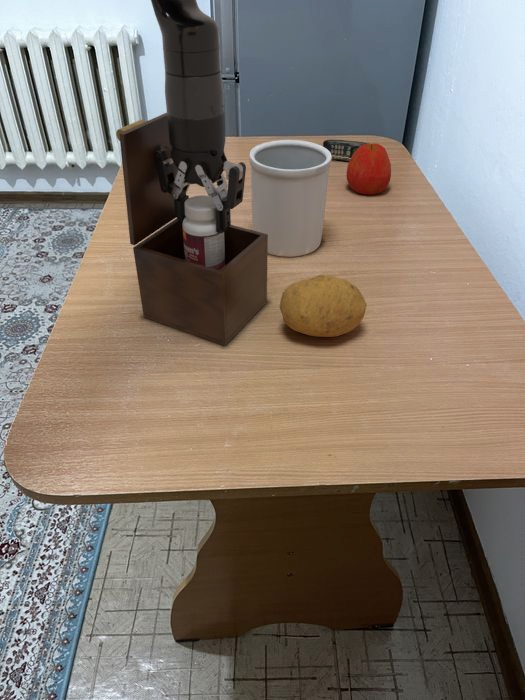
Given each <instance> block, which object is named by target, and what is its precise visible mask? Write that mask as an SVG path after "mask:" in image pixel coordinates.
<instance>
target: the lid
mask: <svg viewBox="0 0 525 700" xmlns="http://www.w3.org/2000/svg"><path fill="white" fill-rule="evenodd" d="M115 135H116V138H117V140H118V141H119V143H120V154H121V164H122V175H123V184H124V185H123V186H124V195H125V202H126V215H127V224H128V225H127V226H128V233H129V235H128V236H129V244H130V245H132V246H136V245H138V244H139V243H141V242H142V241H144V240H145V239H147V238H148V237H150V236H151V235H153V234H154V233H155V232H157V231H158V230H160V229H161V228H163V227H164V226H166V225H167V224H169V223H170V222H172V221H173V220H175V219H176V218H177V217H176V215H175V205H174V199H173V198H172V196H171V194H169V193H168V192H166V193H164V192H162V190H161V187H160V183H159V178H158V173H157V168H156V163H155V159H154V152H156V151H158V150H159V149H161V148H164V147H166V146H167V147H169V148H170V149H172V146H171V144H170V141H169V130H168V120H167V112H164V113H162V114H160V115H158V116H156V117H153V118H151V119H149V120H144V119H139V120H137V121H135V122H132V123H130V124H127V125H125V126H123V127H120V128H118V129H117V130H116V132H115ZM173 165H174V171H175V176H176V175H177V172H178V168H177V167H176V165H175V163H174V162H173ZM167 180H168V178H167Z"/></svg>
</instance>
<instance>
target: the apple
mask: <svg viewBox="0 0 525 700" xmlns="http://www.w3.org/2000/svg"><path fill="white" fill-rule="evenodd" d="M345 177H346V182H347V183H348V186H349V187H350V188H351V189H352V190H353V191H354V192H356V193H358V194H361V195H376V194H380V193H383V192H384V191H385V190H386V189H387V187H389V184H390V182H391V179H392V164H391V160H390V157H389V155H388V152H387V150H386V148H385V147H384V146H383V145H381V144H379V143H370V144H364V145H362V146H360V147H359V148H358V149H357V150H356V151H355V153H354V154H353V155H352V157H351V159H350V161H349V162H348V164H347V167H346V175H345Z"/></svg>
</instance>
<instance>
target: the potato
mask: <svg viewBox="0 0 525 700" xmlns="http://www.w3.org/2000/svg"><path fill="white" fill-rule="evenodd" d="M366 309H367V302H366V299H365V297H364V295H363V294H362V292H361V290H360V289H359V288H358V287H357V286H356V285H355V284H353V283H352V282H350V281H349V280H346V279H343V278H340V277H337V276H333V275H331V274H319V275H315V276H312V277H308V278H305V279H301V280H298V281H295V282H293V283H291V284H289V285H288V286H287V287H286V288H285V289H283V292H282V294H281V297H280V302H279V310H280V313H281V315H282V319H283V322H284V323H285V324H286V326H288V327H289V329H291V330H293V331H295V332H298V333H300V334H304V335H307V336H310V337H319V338H320V337H322V338H329V337H331V338H332V337H338V336H339V337H340V336H341V335H345V334H347V333H350V332H352V331H353V330H354V329H355V328H357V327H358V326H359V325H360V324H361V322H362V321H363V319H364V318H365V314H366Z"/></svg>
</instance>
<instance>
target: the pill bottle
mask: <svg viewBox="0 0 525 700" xmlns="http://www.w3.org/2000/svg"><path fill="white" fill-rule="evenodd" d="M216 209H217V208H216V206H215V204H214V202H213V199H212V197H211V196H209V195H194V196H191V197H189V199H187V200H186V201H185V216H186V217H185V218H184V220H183V224H182V226H183V240H184V253H185V260H186V261H190V262H193V263H196V264H200V265H203V266H206V267H210V268H213V269H216V270H221V269H222V268H224V267H225V246H224V232H223V233H222V234H221V233H217V232H216V214H215V210H216Z"/></svg>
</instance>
